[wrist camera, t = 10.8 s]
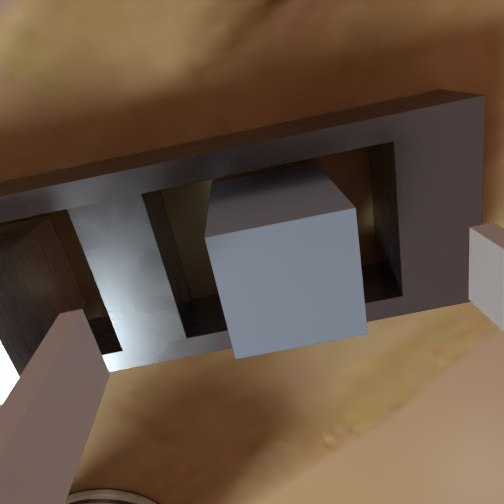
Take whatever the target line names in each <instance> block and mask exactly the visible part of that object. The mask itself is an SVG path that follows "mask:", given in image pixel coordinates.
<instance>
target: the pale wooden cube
mask: <svg viewBox="0 0 504 504" xmlns="http://www.w3.org/2000/svg"><path fill="white" fill-rule="evenodd" d="M85 304H86V302H85V300H84V297H83V295H82V293H81V290H80V288H79V285H78V283H77V281H76V278H75V276H74V273H73V271H72V269H71V266H70V264H69V261H68V259H67V257H66V254H65V252H64V249H63V247H62V245H61V242H60V240H59V237H58V235H57V232H56V230H55V228H54V225H53V223H52V220H51V218H50V216H46V217H41V218H36V219H31V220H26V221H21V222H17V223H12V224H7V225H2V226H0V404H3V402H4V401H5V399H6V397H7V396H8V394H9V393H10V391H11V390H12V388H13V386H14V385H15V383H16V382H17V380H18V379H19V377H20V375H21V374H22V372H23V371H24V369H25V368H26V366H27V364H28V363H29V361H30V360H31V358H32V356H33V355H34V353H35V352H36V350H37V349H38V347H39V345H40V344H41V342H42V341H43V339H44V338H45V336H46V334H47V333H48V331H49V330H50V328H51V326H52V325H53V323H54V322H55V320H56V319H57V317H58V315H59V314H60V313H65V312H70V311H75V310H79V309H83V308H84V306H85Z"/></svg>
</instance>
